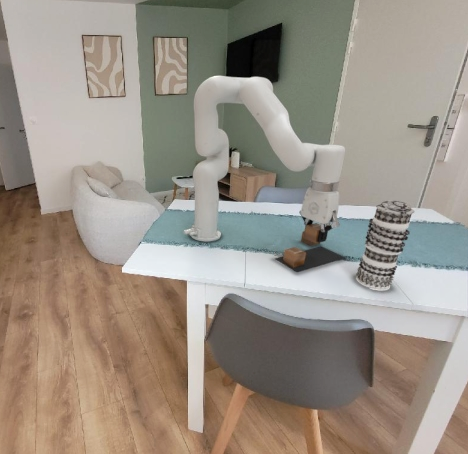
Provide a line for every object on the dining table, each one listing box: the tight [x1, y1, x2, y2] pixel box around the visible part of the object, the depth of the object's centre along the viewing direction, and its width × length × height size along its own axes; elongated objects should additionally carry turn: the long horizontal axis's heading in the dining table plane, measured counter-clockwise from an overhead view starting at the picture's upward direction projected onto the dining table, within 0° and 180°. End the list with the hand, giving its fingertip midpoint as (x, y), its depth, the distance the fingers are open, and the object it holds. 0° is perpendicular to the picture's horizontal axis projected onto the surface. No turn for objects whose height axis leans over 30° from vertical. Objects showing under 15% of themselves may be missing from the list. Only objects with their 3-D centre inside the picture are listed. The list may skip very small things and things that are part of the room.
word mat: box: [274, 245, 346, 273], centre depth 101 cm, size 22×10×1 cm, turn 111°
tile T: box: [300, 230, 321, 247], centre depth 111 cm, size 5×5×5 cm
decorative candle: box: [355, 200, 415, 292], centre depth 82 cm, size 9×9×25 cm
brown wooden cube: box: [283, 246, 306, 268], centre depth 98 cm, size 5×5×5 cm
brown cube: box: [304, 222, 321, 243], centre depth 97 cm, size 5×5×5 cm
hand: (314, 238), depth 98 cm, fingers closed on brown cube, 4 cm apart
